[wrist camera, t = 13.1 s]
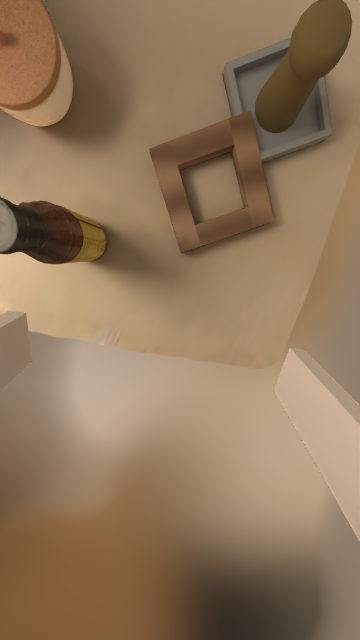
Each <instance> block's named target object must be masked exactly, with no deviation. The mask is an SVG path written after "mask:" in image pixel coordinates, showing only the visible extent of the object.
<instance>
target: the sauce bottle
mask: <svg viewBox="0 0 360 640" xmlns="http://www.w3.org/2000/svg"><path fill="white" fill-rule="evenodd" d="M106 247H107V238H106V235H105V233H104V230H103V228H102V227H101V226H100V225H99V224H97V223H96V222H95V221H94V220H92V219H90V218H88V217H85V216H83V215H81V214H78V213H76V212H73V211H71V210H69V209H66V208H64V207H61V206H59V205H54V204H52V203H49V202H46V201H33V202H30V203H24V202H23V203H20V205H14V204H13V203H11V202H10V201H8V200H6V199H4V198H1V197H0V254H11V253H15V252H23V253H25V254H27V255H29V256H30V257H32V258H34V259H36V260H38V261H40V262H43V263H48V264H63V263H74V262H88V261H93V260H95V259H97V258H99V257H100V256H101V255H102V254H103V253H104V251H105V249H106Z"/></svg>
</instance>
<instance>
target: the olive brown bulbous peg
mask: <svg viewBox="0 0 360 640" xmlns="http://www.w3.org/2000/svg"><path fill="white" fill-rule="evenodd" d="M351 26H352V19H351V14H350V10H349V9H348V7H347V5H346V3H344V2H343V1H342V0H318V1H317V2H315V3H313V4H312V5H311V6H310V7H309V8H308V9H307V10H306V11H305V12H304V13H303V15H302V16H301V18H300V19H299V21H298V23H297V25H296V26H295V29H294V31H293V33H292V37H291V40H290V44H289V48H288V52H287V53H286V55H285V56H284V57H283V59H282V60H281V62H280V63H279V65H278V66H277V67H276V69H275V70H274V72H273V73H272V75H271V76H270V77H269V79H268V80H267V82H266V83H265V85H264V86H263V87H262V89H261V91H260V92H259V94H258V96H257V99H256V103H255V115H256V119H257V121H258V123H259V124H260V126H261V127H262V128H263V129H264V130H266V131H267V132H271V133H280V132H282V131H285V130H287V129H288V128H289V127H290V126H291V125H292V124H293V123H294V121H295V119H296V118H297V116H298V114H299V113H300V111H301V109H302V107H303V106H304V104H305V102H306V101H307V99H308V97H309V95H310V94H311V92H312V90H313V89H314V87H315V85H316V83H317V82H318V80H319V79H320V78H322V77H323V76H325V75H326V74H327V73H328V72H329V71H330V70H332V69H333V68H334V67H335V65H336V64H337V63H338V62H339V60H340V58H341V57H342V55H343V54H344V52H345V50H346V48H347V45H348V42H349V39H350V35H351Z"/></svg>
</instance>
